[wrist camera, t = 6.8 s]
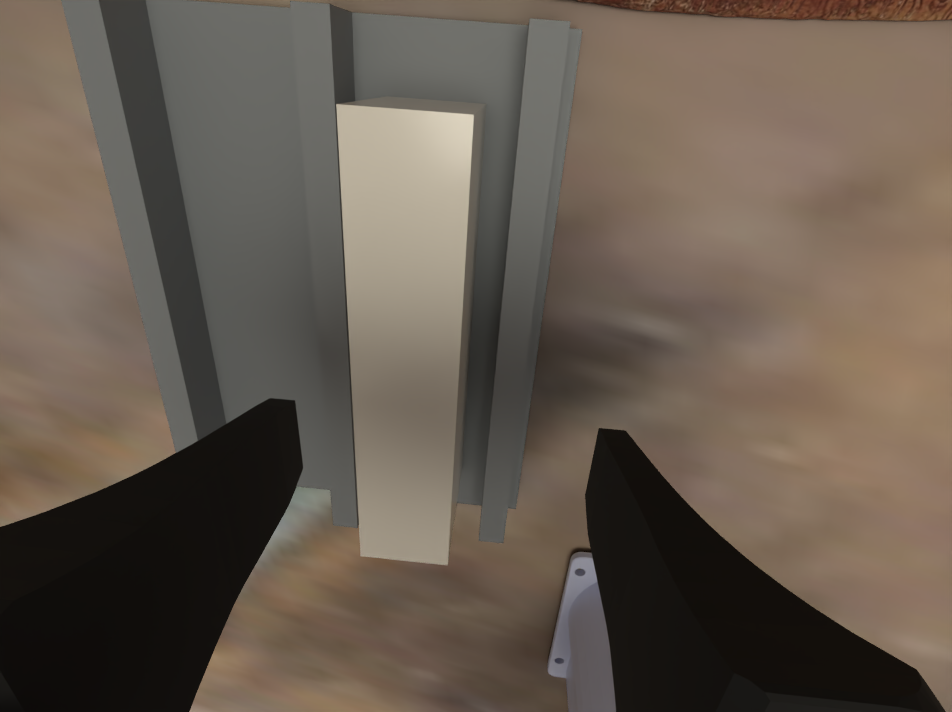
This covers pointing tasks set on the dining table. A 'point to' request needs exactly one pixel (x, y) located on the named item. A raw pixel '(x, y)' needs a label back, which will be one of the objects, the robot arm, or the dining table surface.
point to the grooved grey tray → (315, 208)
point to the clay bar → (409, 311)
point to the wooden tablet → (798, 8)
